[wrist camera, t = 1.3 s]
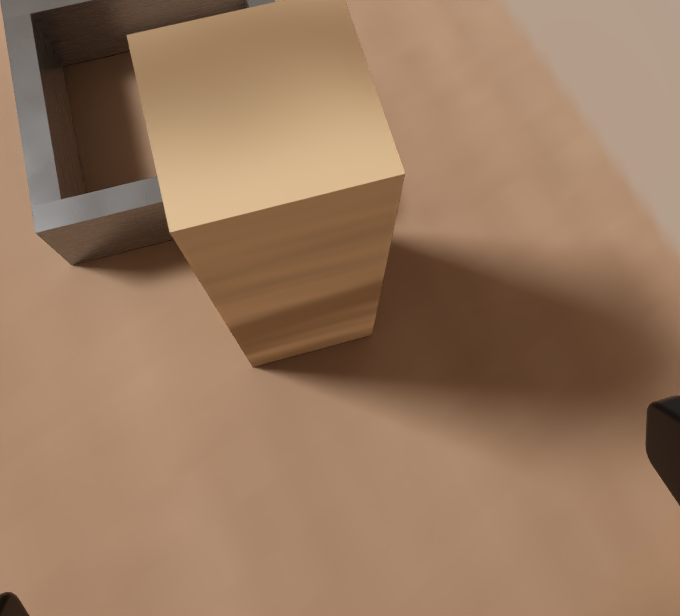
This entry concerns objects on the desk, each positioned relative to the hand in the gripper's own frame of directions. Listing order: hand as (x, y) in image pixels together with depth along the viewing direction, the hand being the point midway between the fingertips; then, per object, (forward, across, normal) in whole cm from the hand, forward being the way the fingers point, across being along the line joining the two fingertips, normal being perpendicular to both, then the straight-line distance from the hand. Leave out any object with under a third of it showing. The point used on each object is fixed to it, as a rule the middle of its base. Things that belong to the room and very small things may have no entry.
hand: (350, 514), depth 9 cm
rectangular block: (+15, -1, +4) cm, 16 cm away
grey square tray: (+21, +2, -2) cm, 21 cm away
